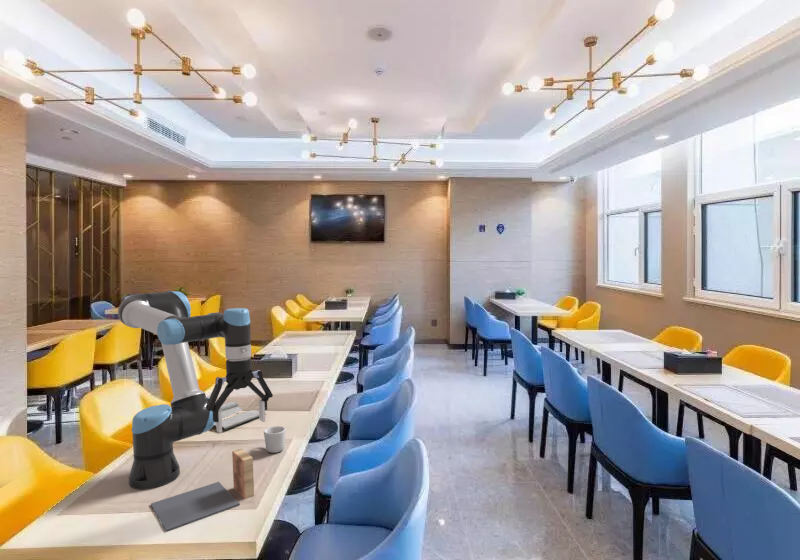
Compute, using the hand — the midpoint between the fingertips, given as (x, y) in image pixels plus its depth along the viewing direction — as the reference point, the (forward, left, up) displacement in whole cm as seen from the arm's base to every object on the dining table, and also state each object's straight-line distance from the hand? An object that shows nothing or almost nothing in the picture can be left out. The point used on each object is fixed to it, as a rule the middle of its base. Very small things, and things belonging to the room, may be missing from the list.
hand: (241, 426), depth 145 cm
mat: (-69, +20, -22) cm, 75 cm away
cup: (-24, +21, -21) cm, 38 cm away
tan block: (0, 0, -21) cm, 21 cm away
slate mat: (-2, -14, -21) cm, 25 cm away
